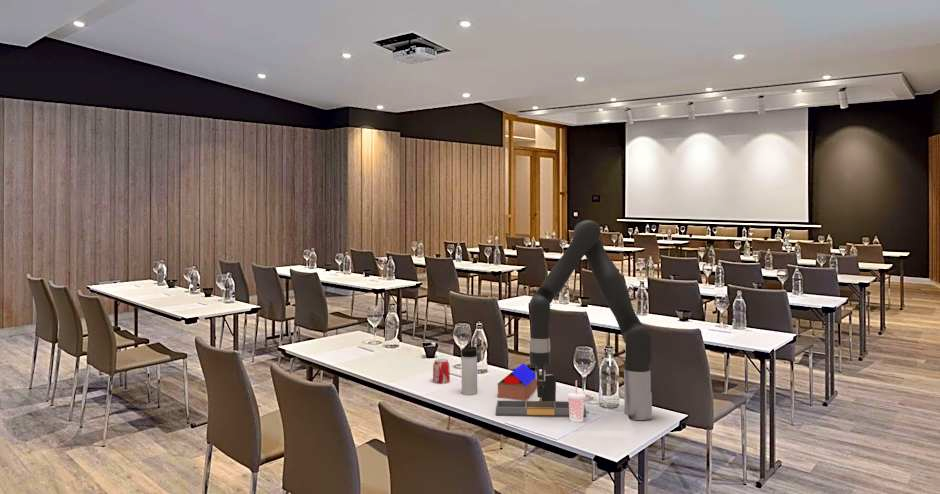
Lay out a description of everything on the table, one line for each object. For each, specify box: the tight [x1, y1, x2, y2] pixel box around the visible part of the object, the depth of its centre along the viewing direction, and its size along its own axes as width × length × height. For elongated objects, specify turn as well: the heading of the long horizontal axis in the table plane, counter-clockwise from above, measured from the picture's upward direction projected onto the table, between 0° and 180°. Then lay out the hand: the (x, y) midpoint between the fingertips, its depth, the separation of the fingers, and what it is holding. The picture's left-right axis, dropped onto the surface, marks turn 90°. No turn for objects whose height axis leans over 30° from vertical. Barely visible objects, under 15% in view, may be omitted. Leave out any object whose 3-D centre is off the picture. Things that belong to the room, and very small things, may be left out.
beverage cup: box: [566, 379, 586, 423], centre depth 228 cm, size 6×6×14 cm
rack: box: [495, 400, 587, 418], centre depth 238 cm, size 32×10×3 cm, turn 85°
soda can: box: [432, 358, 451, 385], centre depth 278 cm, size 7×7×12 cm
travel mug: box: [461, 346, 478, 396], centre depth 262 cm, size 6×7×20 cm
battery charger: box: [538, 373, 557, 401], centre depth 251 cm, size 7×4×11 cm, turn 122°
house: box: [497, 362, 537, 401], centre depth 265 cm, size 12×20×12 cm, turn 162°
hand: (540, 394), depth 238 cm, fingers open, 8 cm apart
